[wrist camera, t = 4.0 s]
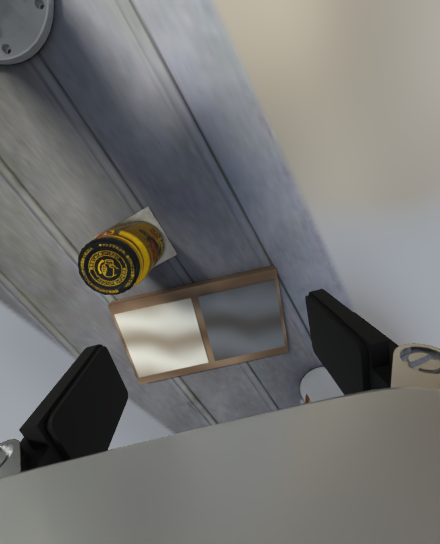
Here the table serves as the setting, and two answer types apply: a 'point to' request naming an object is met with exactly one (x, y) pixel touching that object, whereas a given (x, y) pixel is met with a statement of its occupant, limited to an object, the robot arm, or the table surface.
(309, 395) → the milk bottle
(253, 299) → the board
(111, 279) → the condiment
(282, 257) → the table surface
